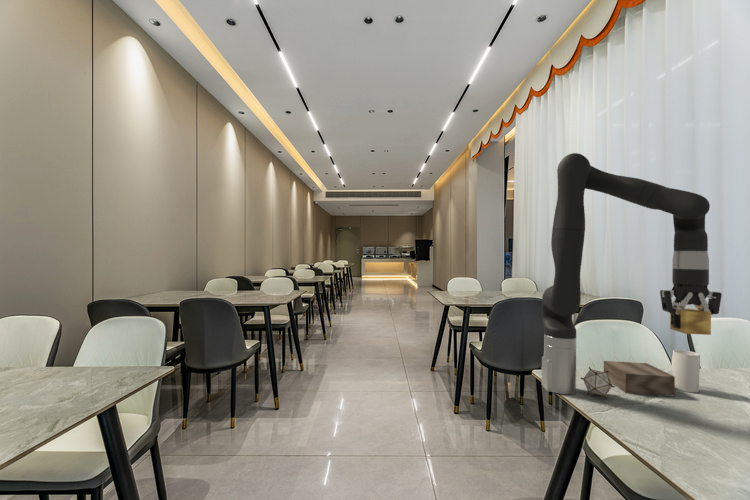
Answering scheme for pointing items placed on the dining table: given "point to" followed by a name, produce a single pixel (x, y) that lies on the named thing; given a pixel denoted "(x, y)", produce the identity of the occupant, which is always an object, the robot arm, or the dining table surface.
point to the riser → (640, 378)
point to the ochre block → (694, 322)
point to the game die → (597, 382)
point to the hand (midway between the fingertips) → (689, 328)
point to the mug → (686, 370)
